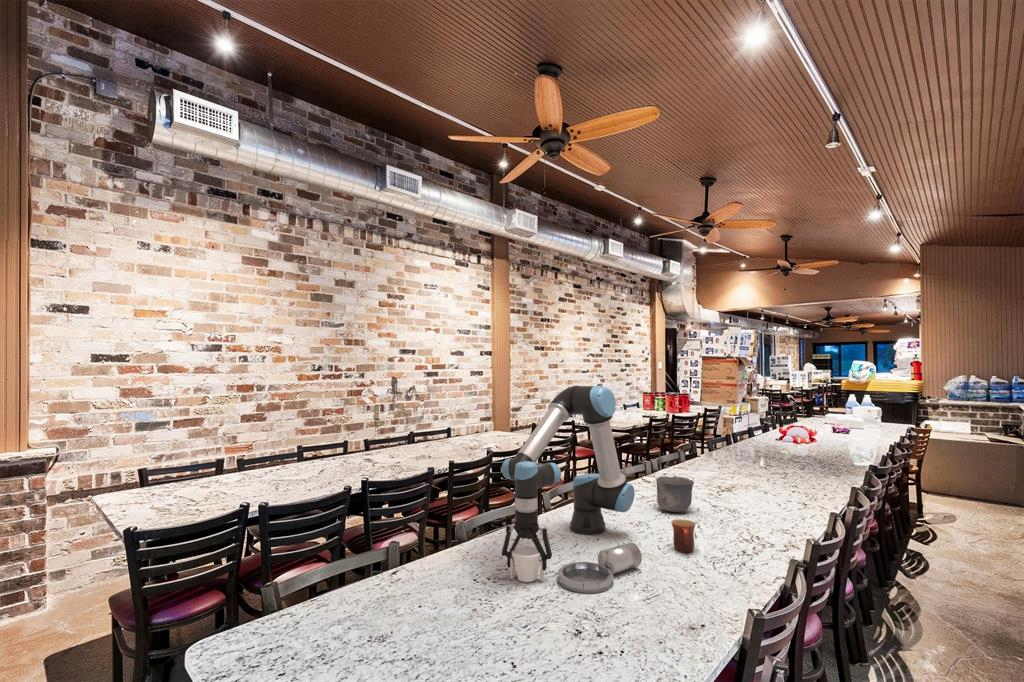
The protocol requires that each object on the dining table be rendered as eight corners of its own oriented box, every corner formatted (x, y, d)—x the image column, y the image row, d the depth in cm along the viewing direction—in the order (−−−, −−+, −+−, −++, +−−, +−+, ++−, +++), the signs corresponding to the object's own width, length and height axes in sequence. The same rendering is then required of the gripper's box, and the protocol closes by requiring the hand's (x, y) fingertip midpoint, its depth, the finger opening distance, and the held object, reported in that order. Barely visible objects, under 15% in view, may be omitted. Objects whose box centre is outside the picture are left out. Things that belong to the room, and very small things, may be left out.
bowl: (699, 509, 242) (698, 478, 243) (690, 519, 228) (689, 486, 228) (662, 504, 252) (661, 474, 253) (651, 513, 237) (651, 481, 238)
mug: (670, 545, 196) (670, 518, 196) (694, 546, 194) (693, 519, 194) (674, 556, 184) (673, 528, 184) (699, 558, 182) (698, 529, 183)
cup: (545, 575, 169) (545, 547, 169) (537, 587, 159) (537, 557, 160) (517, 571, 172) (517, 543, 173) (507, 583, 163) (507, 554, 163)
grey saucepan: (582, 599, 151) (582, 572, 152) (547, 578, 167) (546, 553, 167) (653, 575, 168) (652, 550, 168) (615, 557, 183) (614, 535, 184)
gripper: (491, 511, 166) (492, 580, 164) (557, 514, 161) (558, 586, 160) (497, 504, 173) (497, 571, 172) (560, 508, 168) (561, 576, 167)
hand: (527, 578), depth 166 cm, fingers closed on cup, 9 cm apart
